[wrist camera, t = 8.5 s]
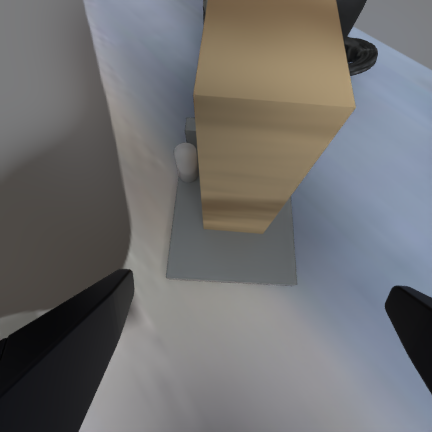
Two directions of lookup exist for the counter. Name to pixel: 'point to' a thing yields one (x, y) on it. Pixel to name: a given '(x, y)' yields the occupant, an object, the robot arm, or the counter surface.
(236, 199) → the oak block
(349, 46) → the milk frother
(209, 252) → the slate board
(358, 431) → the counter surface
